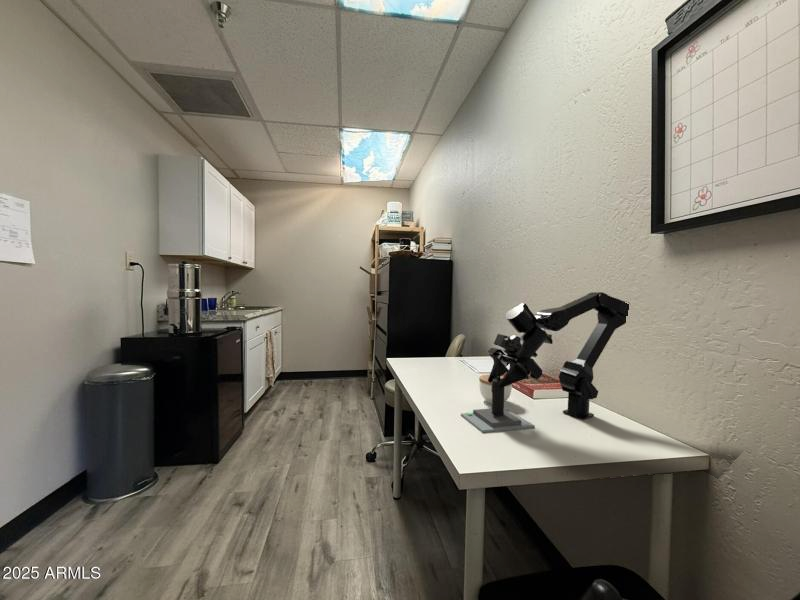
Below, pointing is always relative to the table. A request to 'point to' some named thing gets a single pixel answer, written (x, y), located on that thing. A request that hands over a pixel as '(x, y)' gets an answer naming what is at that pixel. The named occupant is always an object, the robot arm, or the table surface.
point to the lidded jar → (487, 388)
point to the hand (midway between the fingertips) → (494, 384)
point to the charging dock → (495, 420)
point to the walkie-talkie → (497, 394)
